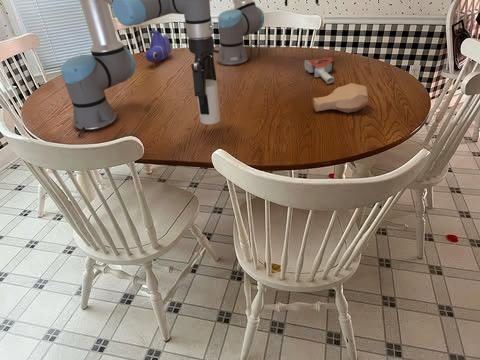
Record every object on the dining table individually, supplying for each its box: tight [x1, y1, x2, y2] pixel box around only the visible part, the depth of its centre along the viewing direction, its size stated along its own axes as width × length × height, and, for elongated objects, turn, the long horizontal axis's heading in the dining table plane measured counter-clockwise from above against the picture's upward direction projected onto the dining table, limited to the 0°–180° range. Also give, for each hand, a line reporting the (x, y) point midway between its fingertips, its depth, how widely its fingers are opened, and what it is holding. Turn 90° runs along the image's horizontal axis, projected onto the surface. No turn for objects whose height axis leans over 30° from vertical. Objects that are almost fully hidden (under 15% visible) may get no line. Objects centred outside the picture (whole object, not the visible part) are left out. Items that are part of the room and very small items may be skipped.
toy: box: [144, 30, 172, 67], centre depth 185 cm, size 10×17×25 cm
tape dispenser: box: [304, 56, 335, 85], centre depth 159 cm, size 18×5×20 cm
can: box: [196, 79, 221, 125], centre depth 116 cm, size 7×7×13 cm
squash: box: [312, 82, 369, 113], centre depth 129 cm, size 11×20×9 cm, turn 92°
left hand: (208, 108), depth 118 cm, fingers closed on can, 7 cm apart
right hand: (301, 4), depth 157 cm, fingers open, 13 cm apart
